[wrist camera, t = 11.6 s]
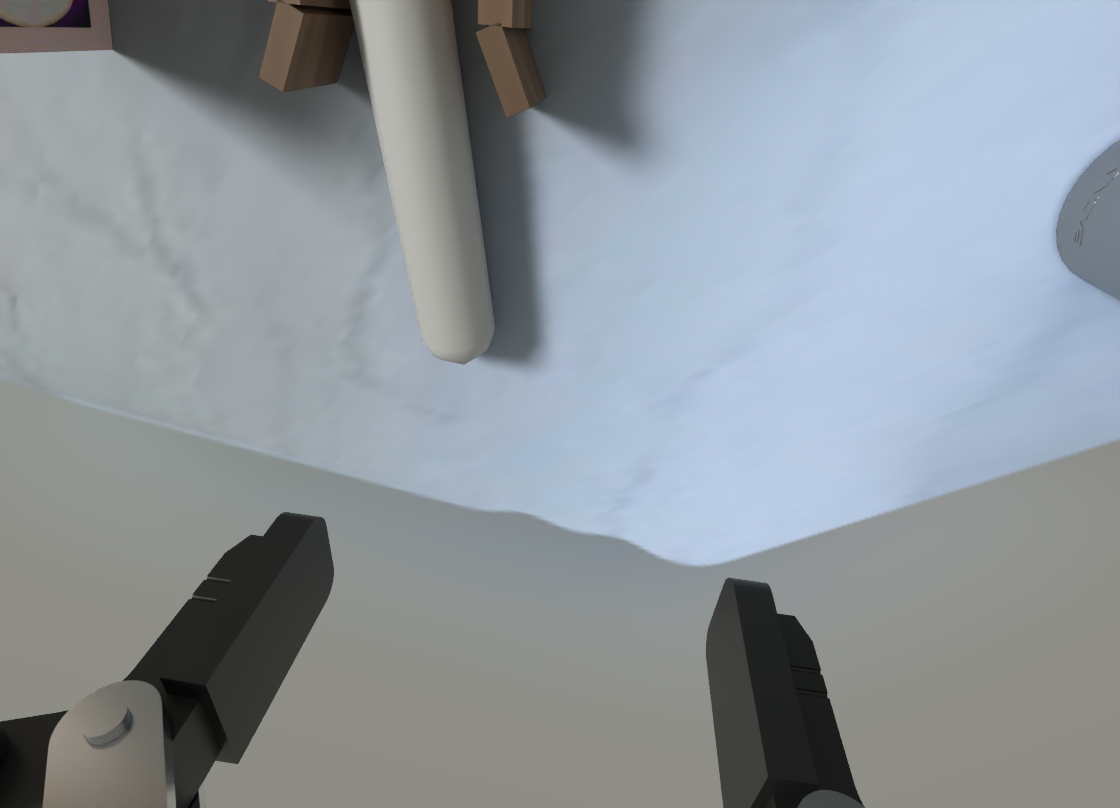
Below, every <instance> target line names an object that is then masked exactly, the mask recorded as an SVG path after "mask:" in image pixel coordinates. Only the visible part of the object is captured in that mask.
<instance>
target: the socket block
mask: <svg viewBox="0 0 1120 808" xmlns="http://www.w3.org/2000/svg"><path fill="white" fill-rule="evenodd" d="M267 1H269V2H277V4H276V8H275V12H274V16H273V21H272V25H271V29H270V33H269V37H268V41H267V45H266V49H265V53H264V57H263V62H262V66H261V70H260V74H259V78H260V79H262V80H263V81H265V82H267V83H268V84H270V85H272V86H273V87H275V88H277V89H278V90H280V91H282V92H286V91H292V90H298V89H304V88H310V87H316V86H322V85H328V84H334V83H336V82H337V79H338V76H339V73H340V69H341V66H342V63H343V60H344V57H345V54H346V50H347V47H348V44H349V41H350V38H351V34H352V31H353V28H354V20H353V15H352V13H350V12H349V11H347V10H346V9H351V6H350V1H349V0H267ZM532 15H533V0H478V24H482V25H491V26H489V27H487V28H484V29H482V30H480V31H478V32H475V33H476V36H477V38H478V41H479V44H480V47H481V49H482V52H483V55H484V58H485V60H486V63H487V66H488V69H489V71H490V74H491V77H492V80H493V82H494V85H495V88H496V91H497V93H498V96H499V99H500V101H501V104H502V107H503V110H504V112H505V115H506V118H507V117H510V116H512V115H515V114H517V113H520V112H522V111H525V110H527V109H530V108H531V107H533V106H534V105H535V104H537V103H538V102H539V101H541V100H542V99H544V98H545V97H546V94H545V91H544V88H543V85H542V82H541V79H540V76H539V73H538V70H537V67H536V64H535V61H534V58H533V55H532V52H531V49H530V46H529V43H528V39H527V36H526V33H525V30H524V28H531V29H532Z"/></svg>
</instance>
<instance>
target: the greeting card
mask: <svg viewBox="0 0 1120 808" xmlns="http://www.w3.org/2000/svg"><path fill="white" fill-rule="evenodd" d="M89 50H113V47H112V37H111V26H110V16H109V6H108V0H0V53H27V52H58V51H89Z"/></svg>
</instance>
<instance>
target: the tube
mask: <svg viewBox="0 0 1120 808" xmlns="http://www.w3.org/2000/svg"><path fill="white" fill-rule="evenodd" d="M349 1H350V6H351V10H352V15H353V20H354V25H355V29H356V34H357V39H358V43H359V48H360V53H361V58H362V62H363V67H364V72H365V76H366V81H367V86H368V91H369V95H370V100H371V105H372V109H373V114H374V119H375V124H376V128H377V133H378V138H379V142H380V147H381V152H382V157H383V161H384V166H385V171H386V175H387V180H388V185H389V190H390V194H391V199H392V204H393V209H394V213H395V218H396V223H397V227H398V232H399V237H400V242H401V246H402V251H403V256H404V260H405V265H406V270H407V275H408V279H409V284H410V289H411V293H412V298H413V303H414V308H415V312H416V317H417V322H418V326H419V331H420V336H421V340H422V341H423V343H424V344H425V345H426V346H427V348H428V349H429V350H430V351H431V353H432V354H433V355H434V356H435V357H437V358H439V359H441V360H445V361H449V362H454V363H459V364H466V363H468V362H469V361H471V360H473V359H474V358H476V357H478V356H480V355H481V354H483V353H484V352H485V351H486V350H487V349H488V348H489V346H490V343H491V340H492V337H493V334H494V331H495V322H494V314H493V307H492V299H491V292H490V285H489V277H488V270H487V262H486V255H485V248H484V240H483V233H482V225H481V218H480V211H479V203H478V196H477V188H476V181H475V174H474V166H473V159H472V151H471V144H470V137H469V129H468V122H467V115H466V107H465V100H464V92H463V85H462V78H461V70H460V63H459V55H458V48H457V41H456V33H455V26H454V18H453V11H452V4H451V0H349Z"/></svg>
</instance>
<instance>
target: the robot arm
mask: <svg viewBox="0 0 1120 808" xmlns="http://www.w3.org/2000/svg"><path fill="white" fill-rule="evenodd" d="M1056 236H1057V248H1058V251H1059V253H1060V256H1061V259H1062V261H1063V262H1064V264H1065V265H1066V266H1067V267H1068V269H1069V270H1070V271H1071V272H1072V273H1074V274H1075V275H1077V276H1078V277H1080V278H1081V279H1083V280H1084V281H1086V282H1088V283H1090V284H1092V285H1093V286H1095V287H1097V288H1099V289H1101V290H1102V291H1104V292H1106V293H1108V294H1110V295H1112V296H1113V297H1115V298H1117V299H1119V300H1120V140H1119V141H1118V142H1116V143H1114V144H1113V145H1112V146H1111V147H1110V148H1109V149H1107V150H1106V151H1105V152H1104V153H1103V154H1101V155H1100V156H1099V157H1098V158H1097V159H1095V161H1094V162H1093V163H1092V164H1091V165H1090V166H1089V167H1088V168H1087V169H1086V171H1085V172H1084V173H1083V174H1082V175H1081V176H1080V177H1079V179H1078V180H1077V182H1076V183H1075V185H1074V186H1073V188H1072V189H1071V191H1070V192H1069V194H1068V196H1067V198H1066V200H1065V203H1064V205H1063V207H1062V210H1061V212H1060V215H1059V220H1058V225H1057V230H1056ZM333 577H334V567H333V561H332V555H331V549H330V544H329V538H328V532H327V527H326V522H325V520H324V519H323V518H322V517H316V516H309V515H302V514H296V513H289V512H284V513H282V514H280V515H279V516H278V517H277V518H276V520H275V521H274V522H273V524H272V525H271V526H270V528H269V529H268V530H267V532H266V533H265V534H264V536H263V537H262V536H256V535H250V536H248V537H247V538H246V539H244V540H243V541H242V542H240V543H239V544H237V545H236V546H234V547H233V548H232V549H230V550H229V551H227V552H226V553H225V554H224V555H223V557H222V558H221V559H220V560H219V561H218V563H217V564H216V565H215V567H214V568H213V569H212V570H211V572H210V573H209V574H208V578H207V580H204V581H203V582H202V583H201V584H200V586H199V587H198V588H197V590H196V591H195V592H194V593H193V597H192V599H189V600H188V601H187V602H186V603H185V605H184V606H183V607H182V609H181V610H180V611H179V612H178V614H177V615H176V616H175V618H174V619H173V620H172V621H171V623H170V624H169V625H168V626H167V628H166V629H165V630H164V632H163V633H162V634H161V635H160V637H159V638H158V639H157V641H156V642H155V643H154V644H153V646H152V647H151V648H150V649H149V650H148V652H147V653H146V654H145V656H144V657H143V658H142V659H141V661H140V662H139V663H138V665H137V666H136V667H135V668H134V670H133V671H132V672H131V673H130V674H129V675H128V676H127V677H126V678H125V679H124V680H123V681H121V682H116V683H113V684H110V685H107V686H105V687H102V688H100V689H98V690H96V691H94V692H92V693H90V694H89V695H87V696H86V697H84V698H83V699H81V700H80V701H79V702H78V703H76V704H75V705H74V706H73V707H72V708H71V709H70V710H68V711H63V712H58V713H52V714H45V715H39V716H33V717H27V718H21V719H14V720H8V721H2V722H0V808H206V803H205V793H204V786H203V781H204V779H205V777H206V776H207V774H208V772H209V771H210V769H211V767H212V765H213V763H214V762H215V760H216V761H222V762H228V763H234V764H238V763H239V761H240V759H241V758H242V756H243V754H244V752H245V750H246V748H247V746H248V745H249V743H250V741H251V739H252V737H253V736H254V734H255V732H256V730H257V728H258V726H259V724H260V723H261V721H262V719H263V717H264V715H265V713H266V712H267V710H268V708H269V706H270V704H271V702H272V700H273V699H274V697H275V695H276V693H277V691H278V689H279V688H280V686H281V684H282V682H283V680H284V678H285V676H286V675H287V673H288V671H289V669H290V667H291V665H292V664H293V662H294V660H295V658H296V656H297V654H298V652H299V651H300V649H301V647H302V645H303V643H304V641H305V639H306V638H307V636H308V634H309V632H310V630H311V628H312V626H313V625H314V623H315V621H316V619H317V617H318V615H319V614H320V612H321V610H322V608H323V606H324V604H325V603H326V600H327V599H328V596H329V594H330V591H331V587H332V583H333ZM706 659H707V668H708V677H709V686H710V694H711V703H712V712H713V720H714V729H715V738H716V746H717V755H718V764H719V772H720V780H721V790H722V798H723V806H724V808H865V807H864V805H863V804H862V802H861V800H860V798H859V795H858V793H857V790H856V787H855V785H854V781H853V778H852V774H851V771H850V768H849V764H848V761H847V758H846V754H845V750H844V747H843V744H842V740H841V737H840V733H839V730H838V727H837V723H836V720H835V716H834V713H833V709H832V706H831V703H830V699H829V698H827V689H826V686H825V682H824V679H823V676H822V675H821V674H820V671H821V669H820V665H819V662H818V658H817V655H816V651H815V648H814V645H813V642H812V640H811V639H810V637H809V636H808V634H807V633H806V632H805V630H804V629H803V627H802V626H801V625H800V623H799V622H798V620H797V619H796V618H795V616H790V615H783V614H777V611H776V607H775V603H774V599H773V595H772V592H771V588H770V586H769V585H768V584H767V583H761V582H754V581H748V580H741V579H734V578H727V579H726V581H725V583H724V585H723V588H722V591H721V594H720V596H719V599H718V602H717V605H716V608H715V610H714V613H713V616H712V619H711V622H710V625H709V628H708V633H707V642H706Z"/></svg>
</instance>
